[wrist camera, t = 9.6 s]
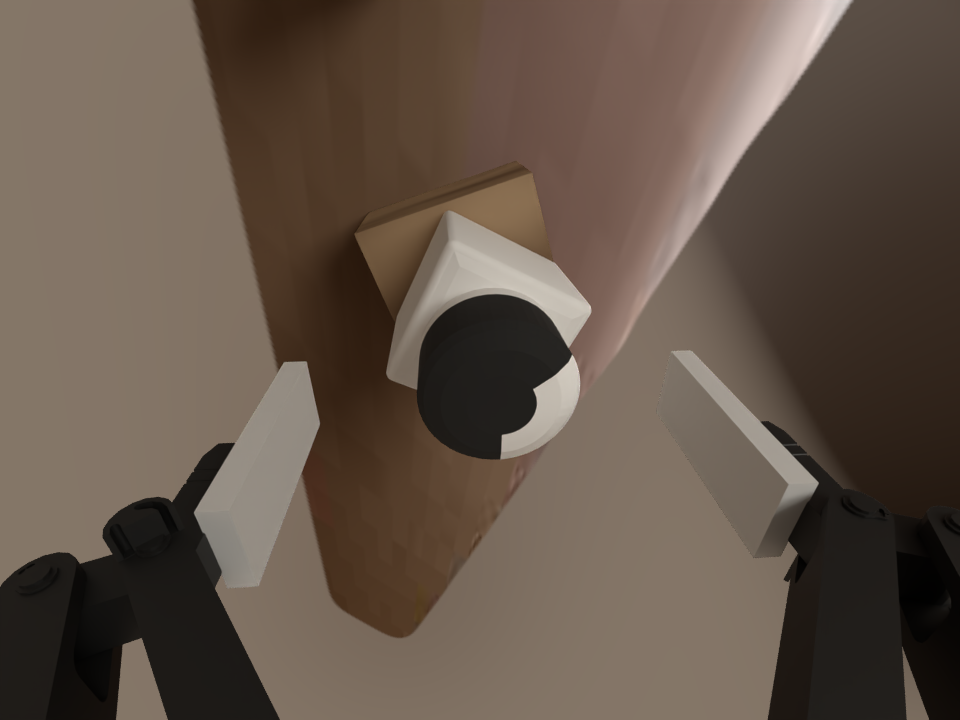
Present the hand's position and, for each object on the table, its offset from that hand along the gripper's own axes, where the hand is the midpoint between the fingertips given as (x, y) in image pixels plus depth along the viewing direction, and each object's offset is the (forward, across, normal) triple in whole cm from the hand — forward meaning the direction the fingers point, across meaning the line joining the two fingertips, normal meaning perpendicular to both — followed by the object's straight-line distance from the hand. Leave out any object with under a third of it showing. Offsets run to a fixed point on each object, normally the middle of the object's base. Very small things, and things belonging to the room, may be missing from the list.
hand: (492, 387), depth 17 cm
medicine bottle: (+11, 0, -1) cm, 11 cm away
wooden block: (+17, 0, -1) cm, 17 cm away
